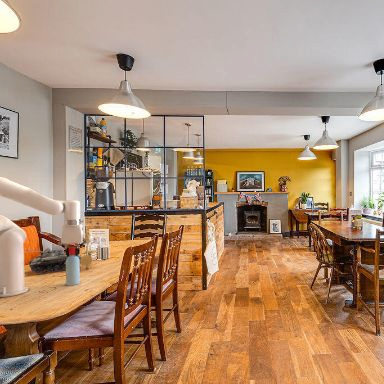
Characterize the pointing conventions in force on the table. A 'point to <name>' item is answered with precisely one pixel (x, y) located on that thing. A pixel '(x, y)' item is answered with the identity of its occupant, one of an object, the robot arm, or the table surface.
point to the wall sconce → (87, 254)
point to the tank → (49, 261)
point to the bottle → (72, 270)
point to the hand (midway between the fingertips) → (72, 255)
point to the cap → (72, 250)
